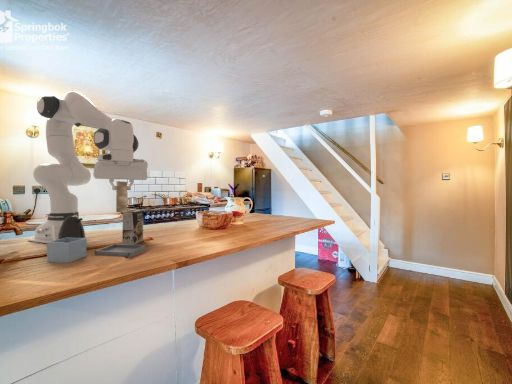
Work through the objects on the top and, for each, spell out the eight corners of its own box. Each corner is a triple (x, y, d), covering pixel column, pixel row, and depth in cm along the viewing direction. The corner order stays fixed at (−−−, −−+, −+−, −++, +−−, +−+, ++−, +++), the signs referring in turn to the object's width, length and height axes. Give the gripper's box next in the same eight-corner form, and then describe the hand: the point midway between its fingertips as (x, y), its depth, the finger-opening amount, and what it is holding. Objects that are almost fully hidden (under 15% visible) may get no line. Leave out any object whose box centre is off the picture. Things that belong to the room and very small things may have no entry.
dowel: (114, 212, 103) (114, 181, 102) (120, 211, 107) (120, 181, 106) (123, 212, 102) (123, 181, 102) (128, 211, 106) (129, 181, 106)
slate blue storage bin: (47, 263, 90) (47, 242, 89) (67, 256, 98) (67, 237, 98) (68, 264, 89) (68, 243, 89) (86, 258, 97) (86, 238, 97)
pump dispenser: (70, 253, 102) (70, 217, 102) (50, 251, 104) (50, 216, 104) (91, 247, 112) (91, 215, 112) (73, 246, 114) (73, 214, 114)
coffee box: (134, 245, 119) (135, 212, 118) (121, 244, 119) (122, 211, 119) (143, 240, 128) (144, 210, 128) (131, 240, 128) (131, 209, 128)
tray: (94, 256, 100) (94, 250, 100) (114, 248, 112) (114, 243, 112) (129, 258, 98) (129, 252, 98) (145, 250, 110) (145, 245, 110)
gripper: (145, 160, 113) (145, 190, 113) (92, 156, 100) (92, 189, 100) (149, 159, 108) (149, 190, 108) (94, 155, 95) (94, 190, 95)
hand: (121, 190), depth 104 cm, fingers closed on dowel, 4 cm apart
